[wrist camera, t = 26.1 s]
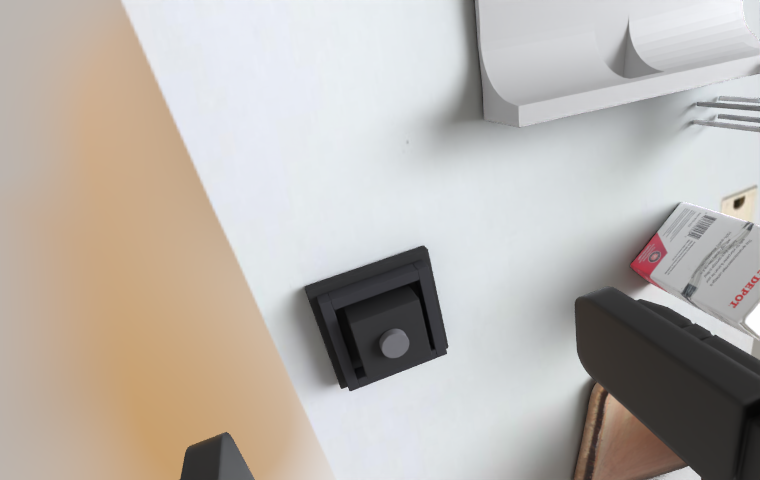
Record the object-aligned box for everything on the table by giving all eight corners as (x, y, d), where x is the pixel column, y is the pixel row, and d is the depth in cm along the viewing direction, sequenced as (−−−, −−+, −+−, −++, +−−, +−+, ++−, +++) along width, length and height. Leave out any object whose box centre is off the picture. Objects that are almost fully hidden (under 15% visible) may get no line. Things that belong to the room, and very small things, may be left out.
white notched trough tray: (761, -159, 33) (903, -223, 26) (719, 118, 42) (817, 128, 35) (464, -127, 29) (535, -193, 22) (484, 175, 37) (540, 201, 30)
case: (692, 457, 63) (823, 572, 48) (566, 494, 58) (670, 636, 43) (730, 338, 55) (900, 434, 41) (590, 370, 50) (725, 492, 36)
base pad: (339, 382, 41) (344, 400, 39) (304, 286, 37) (307, 300, 34) (444, 342, 43) (455, 357, 41) (423, 245, 38) (434, 256, 36)
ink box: (651, 285, 48) (765, 346, 37) (627, 265, 46) (739, 324, 35) (704, 221, 46) (837, 267, 36) (681, 198, 44) (814, 239, 34)
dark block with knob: (360, 359, 40) (369, 386, 36) (342, 305, 37) (351, 329, 34) (420, 336, 41) (435, 361, 37) (407, 282, 38) (422, 303, 35)
